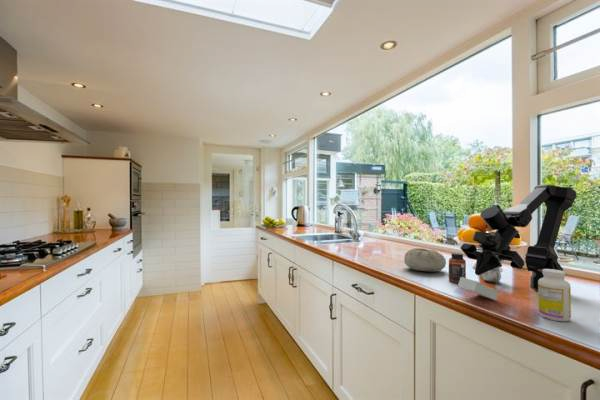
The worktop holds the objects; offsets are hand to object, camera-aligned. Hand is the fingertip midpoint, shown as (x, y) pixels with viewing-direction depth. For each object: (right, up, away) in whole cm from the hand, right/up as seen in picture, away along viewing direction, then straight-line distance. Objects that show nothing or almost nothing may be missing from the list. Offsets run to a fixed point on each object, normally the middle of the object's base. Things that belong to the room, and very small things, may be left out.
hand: (476, 274), depth 92 cm
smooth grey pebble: (0, -9, +39) cm, 40 cm away
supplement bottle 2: (+12, -8, -15) cm, 21 cm away
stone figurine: (+19, -9, +21) cm, 30 cm away
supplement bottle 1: (+5, -9, +20) cm, 22 cm away
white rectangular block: (+5, -7, +2) cm, 8 cm away
